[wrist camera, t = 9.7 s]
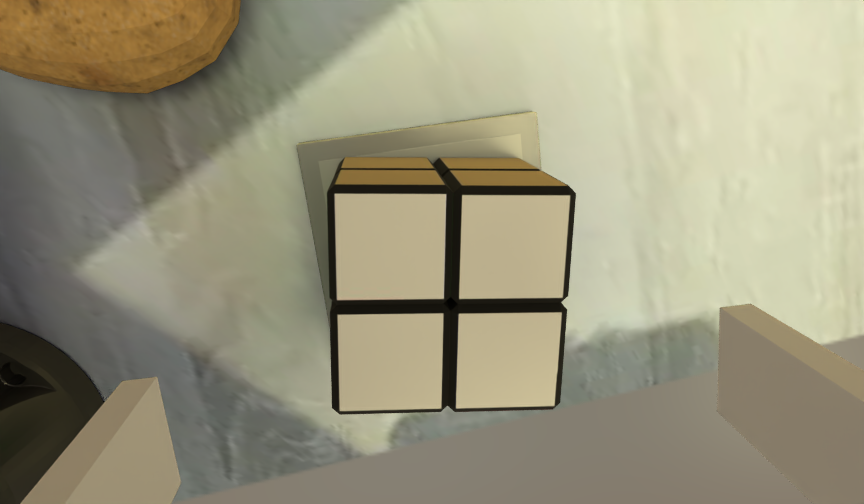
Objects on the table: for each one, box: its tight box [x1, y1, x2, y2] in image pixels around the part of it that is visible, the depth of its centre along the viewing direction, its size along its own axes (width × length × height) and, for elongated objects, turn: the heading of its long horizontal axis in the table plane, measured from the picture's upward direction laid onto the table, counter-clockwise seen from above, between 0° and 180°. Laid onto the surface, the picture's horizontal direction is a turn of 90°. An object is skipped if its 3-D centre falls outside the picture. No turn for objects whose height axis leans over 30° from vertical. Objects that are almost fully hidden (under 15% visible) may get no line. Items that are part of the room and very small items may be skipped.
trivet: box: [297, 111, 541, 326], centre depth 37 cm, size 13×13×1 cm
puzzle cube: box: [327, 157, 576, 414], centre depth 31 cm, size 10×10×10 cm
